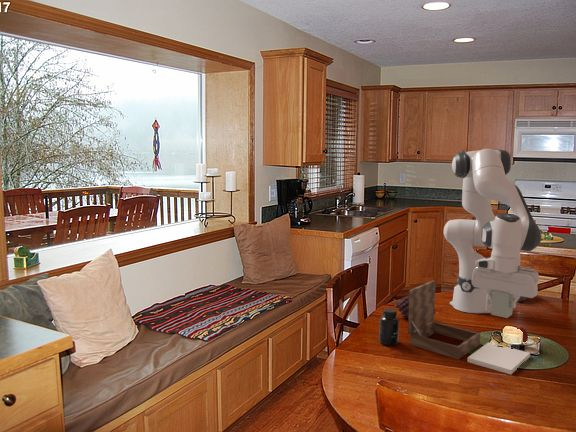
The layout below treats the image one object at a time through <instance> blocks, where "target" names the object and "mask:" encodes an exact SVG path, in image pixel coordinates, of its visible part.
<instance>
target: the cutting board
mask: <svg viewBox="0 0 576 432" xmlns="http://www.w3.org/2000/svg"><path fill="white" fill-rule="evenodd" d="M491 343H492V342H490V341H488V342H486V343H485V344H484V345H483V346H482V347H479V349H477V350H475V351H474V352H473V353H472V354H470V355H469V356H468V357H467V363H470V364H473V365H476V366H480V367H484V368H487V369H490V370H495V371H497V372H501V373H504V374H508V375H509V376H510V375H512V374H513V373H515V371H517V370H518V369H519V368H520V367H521V366H522V365H523V364H524V363H525V362H526V361H527V360H529V358H530V357H531V352H528V351H524V350H521V349H520V350H519V349H516V348H513V349H511V348H512V347H509V348H508V346H505V347H507V348H505V347H503V348H502V347H497V346H494V345H492V344H491ZM524 361H525V362H524ZM523 362H524V363H523ZM522 363H523V364H522ZM521 364H522V365H521ZM520 365H521V366H520ZM519 366H520V367H519ZM518 367H519V368H518ZM517 368H518V369H517Z"/></svg>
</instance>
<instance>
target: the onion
mask: <svg viewBox="0 0 576 432" xmlns="http://www.w3.org/2000/svg"><path fill="white" fill-rule="evenodd" d="M515 328H517V329H520V330H521V331H522V332H523V342H526V341H527V342H528V341H529V335H528V332H527V331H526V329H525V328H523V327H522V325H520V324H519V325H517V327H516V326H515ZM527 342H526V343H527Z"/></svg>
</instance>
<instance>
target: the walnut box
mask: <svg viewBox="0 0 576 432" xmlns="http://www.w3.org/2000/svg"><path fill="white" fill-rule="evenodd" d="M408 291H409V293H408V296H409V316H408V318H407V320H408V321H407V323H408V324H407V334H408V335H410V341H409V345H410V346H412V347H416V348H419V349H422V350H425V351H428V352H433V353H436V354H439V355H443V356H446V357H450V358H453V359H456V360H460V359H462V357H464V356H465V355H467V354H468V353H469V352H472V350H474V349H476V348H477V347H478V346H479V345H481V335H482V334H481V333H480V332H477V331H473V330H469V329H466V328H461V327H456V326H453V325H449V324H445V323H442V322H441V323H440V322H437V321H435V313H434V309H435V303H436V300H435V299H436V280H433V279H432V280H430V281H428V282H425V283H424V284H421V285H419V286H416V287H414V288H411V289H409V290H408ZM434 334H438V335H441V336H445V337H448V338H452V339H456V340H460V341H463V342H462V343H460V344H459V345H454V344H451V343H448V342H444V341H440V340H437V339H433V338H429V337H430V336H432V335H434Z"/></svg>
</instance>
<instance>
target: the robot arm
mask: <svg viewBox="0 0 576 432" xmlns="http://www.w3.org/2000/svg"><path fill="white" fill-rule="evenodd" d="M451 169H452V171H453V175H454V176H455V177H456V178H460V179H463V180H462V190H461V191H462V194H461V196H462V197H461V198H462V199H461V205H462V208H463V209H464V210H465V211H466V212H468V213H469V214H471V215H473V216H474V217H475V219H467V218H466V219H462V218H457V219H455V218H454V219H449V220H447V222H446V223H445V225H444V226H443V236H444V238H445V240H446V241H447V242H448V243H449V244H450V245H452V247H453V248H454V249H455V251H456V253H457V257H458V266H459V267H458V268H459V269H458V270H459V271H458V275H457V280H456V281H457V285H455V286H454V288H453V295H452V296H453V297H452V300H451V301H450V302H449V305H451V306H452V307H453V308H454V309H455V310H457V311H460V312H463V313H464V312H465V313H469V314H491V311H492V296H493V291H499V292H504V293H509V294H512V295H514V297H513V301H511V302H510V306H509V307H511V308H513V309H515V308H516V307H517V303H518V302H519V301H518V300H519V298H520V296H523V297H528V298H527V299H534V298H535V297H536V296H537V295H538V292H539V291H538V281H539V276H540V275H539V272H538V271H537V270H536V269H534V268H532V267H529V268H528V267H525V266H521V252H522V251H523V252H531V251H533V250H534V249H536V248H537V247H538V246H539V245H540V244H541V241H542V233H541V230H540V227H539V226H538V224H537V223H536V221H535V220H534V217H533V216H532V213H531V211H530V209H529V206H528V205H527V202H526V200H525V198H524V196H523V193H522V192H521V190H520V188H519V186H518V185H516V184H514V183H512V181H511V180H510V179H509V178H508V177H507V175H508V174H509V173H510V171H511V169H512V158H511V154H510V153H509V152H508V150H504V149H493V148H483V149H480V150H479V149H478V150H471V151H461V152H457V153H455V155H454V156H453V159H452V161H451ZM491 200H492V201H496V202H500V203H502V204H504V205H506V206H508V207H509V208H510V209H511V210H512V212H513V213H499V214H497V215H496V216H495V214H494V212H493V209H492V205H491ZM474 246H475V247H486V248H488V249H491V250H492V251H491V253H490V256H487V257H484V256H483V254H480V253H478V252H477V251H475V250H474Z"/></svg>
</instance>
